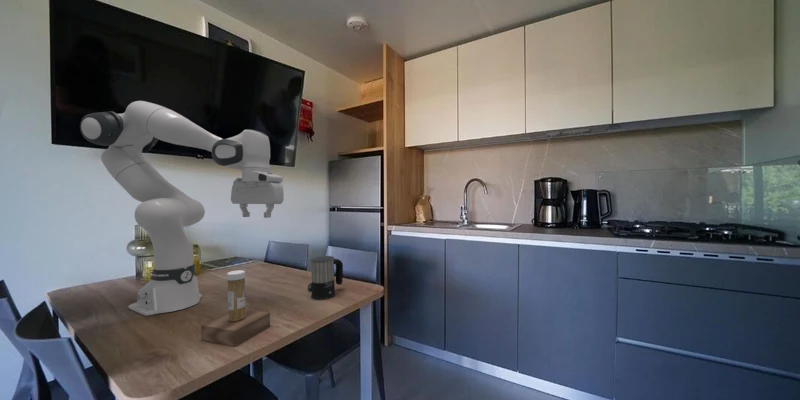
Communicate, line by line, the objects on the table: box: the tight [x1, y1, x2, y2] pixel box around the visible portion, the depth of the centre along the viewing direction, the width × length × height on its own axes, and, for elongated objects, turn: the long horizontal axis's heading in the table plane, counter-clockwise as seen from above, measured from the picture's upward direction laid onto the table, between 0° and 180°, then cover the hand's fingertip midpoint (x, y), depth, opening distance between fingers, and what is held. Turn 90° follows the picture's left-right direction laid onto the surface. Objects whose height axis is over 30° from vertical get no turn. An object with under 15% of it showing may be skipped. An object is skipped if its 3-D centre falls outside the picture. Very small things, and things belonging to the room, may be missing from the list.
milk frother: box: [307, 255, 344, 300], centre depth 114 cm, size 14×16×15 cm
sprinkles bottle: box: [226, 269, 246, 322], centre depth 81 cm, size 5×5×14 cm
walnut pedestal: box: [200, 309, 271, 347], centre depth 81 cm, size 12×12×4 cm
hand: (256, 217), depth 98 cm, fingers open, 8 cm apart
